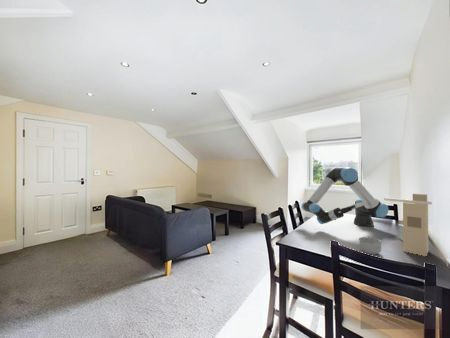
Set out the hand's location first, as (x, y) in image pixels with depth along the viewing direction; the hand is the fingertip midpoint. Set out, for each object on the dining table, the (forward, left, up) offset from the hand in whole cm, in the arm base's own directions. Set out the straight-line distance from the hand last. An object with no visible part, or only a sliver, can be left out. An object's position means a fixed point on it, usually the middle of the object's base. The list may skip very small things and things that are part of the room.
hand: (363, 203), depth 142 cm
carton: (-1, +27, -26) cm, 38 cm away
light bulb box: (-21, +21, -27) cm, 40 cm away
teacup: (+21, +9, -27) cm, 35 cm away
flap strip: (-1, +23, +4) cm, 23 cm away
